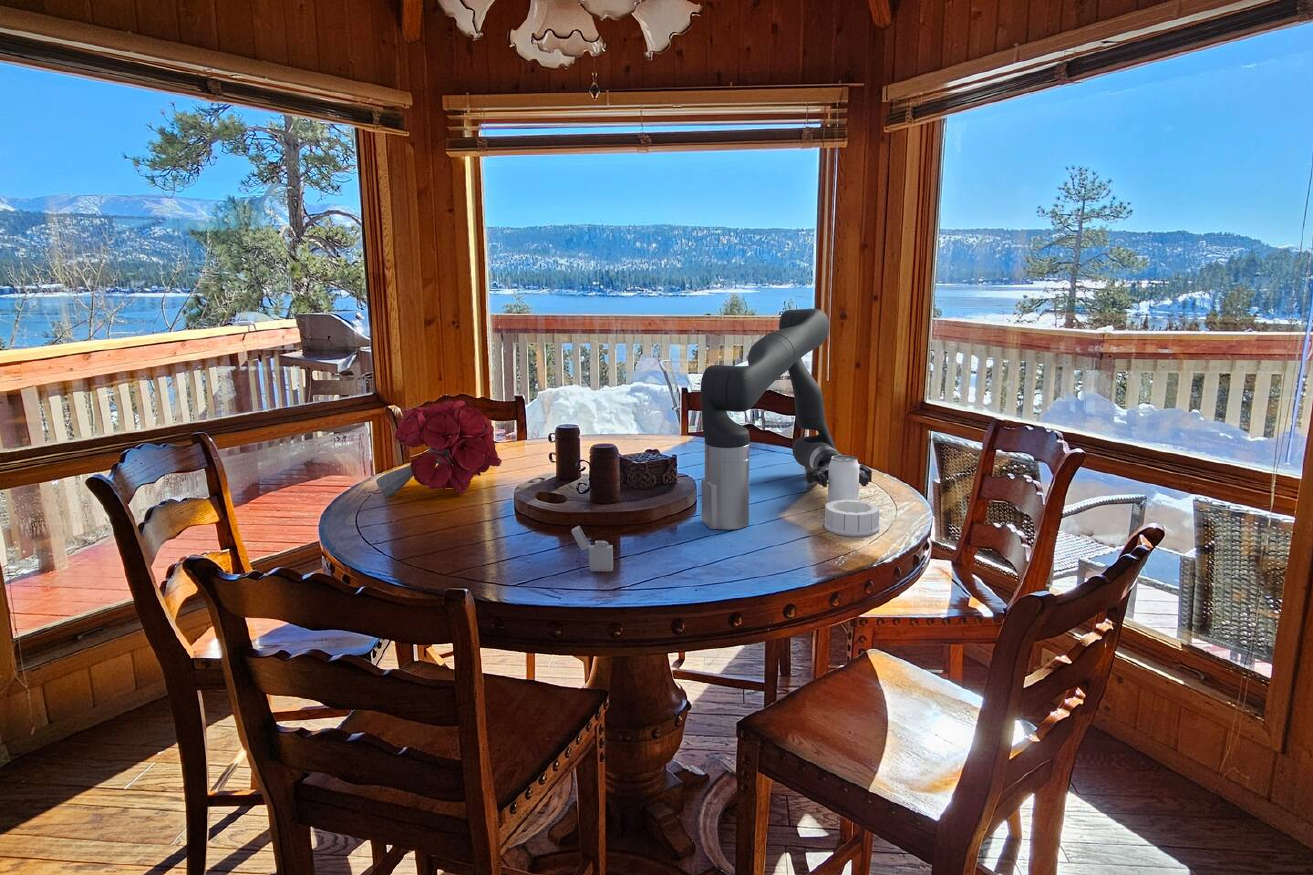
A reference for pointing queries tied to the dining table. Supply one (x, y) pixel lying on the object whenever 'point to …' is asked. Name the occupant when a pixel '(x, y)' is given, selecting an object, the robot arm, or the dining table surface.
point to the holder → (851, 518)
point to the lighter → (595, 552)
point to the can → (843, 478)
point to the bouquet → (444, 447)
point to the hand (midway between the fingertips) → (845, 482)
